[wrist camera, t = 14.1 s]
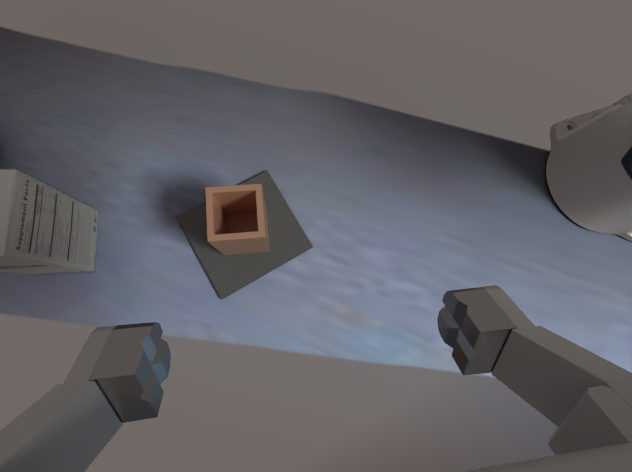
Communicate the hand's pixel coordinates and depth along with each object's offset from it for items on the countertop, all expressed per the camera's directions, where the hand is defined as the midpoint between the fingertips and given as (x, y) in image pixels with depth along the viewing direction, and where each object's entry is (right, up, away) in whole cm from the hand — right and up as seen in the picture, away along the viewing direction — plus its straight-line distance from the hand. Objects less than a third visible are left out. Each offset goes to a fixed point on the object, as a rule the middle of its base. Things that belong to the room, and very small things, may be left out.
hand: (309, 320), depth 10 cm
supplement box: (-28, +2, +28) cm, 40 cm away
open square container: (-8, +3, +30) cm, 31 cm away
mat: (-8, +3, +30) cm, 31 cm away
